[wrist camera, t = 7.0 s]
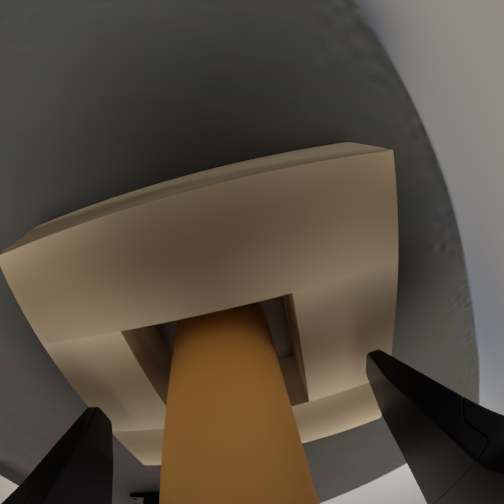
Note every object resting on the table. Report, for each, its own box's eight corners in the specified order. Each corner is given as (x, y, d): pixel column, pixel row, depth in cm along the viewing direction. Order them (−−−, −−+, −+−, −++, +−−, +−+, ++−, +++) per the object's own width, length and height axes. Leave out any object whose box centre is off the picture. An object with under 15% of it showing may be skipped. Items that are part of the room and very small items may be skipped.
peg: (273, 348, 13) (330, 550, 4) (193, 366, 13) (195, 567, 4) (256, 277, 11) (331, 531, 3) (164, 299, 11) (124, 545, 3)
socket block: (359, 377, 15) (380, 417, 12) (149, 422, 14) (144, 465, 12) (347, 141, 10) (392, 150, 7) (38, 225, 9) (-4, 256, 7)
